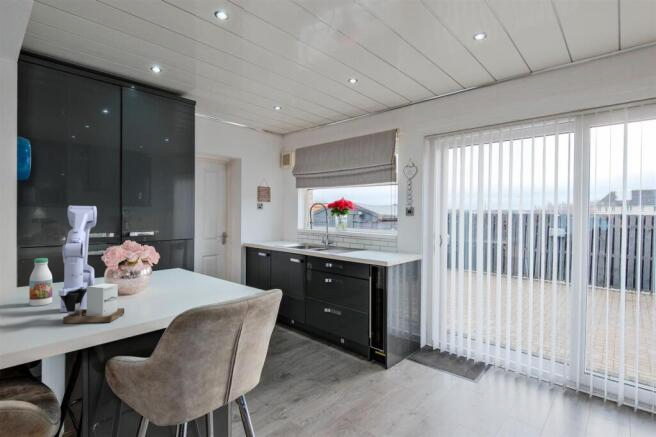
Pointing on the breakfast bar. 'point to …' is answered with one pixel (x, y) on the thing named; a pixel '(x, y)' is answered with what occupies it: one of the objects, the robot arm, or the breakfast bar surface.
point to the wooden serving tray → (77, 318)
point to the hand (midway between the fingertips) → (73, 310)
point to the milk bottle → (40, 284)
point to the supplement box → (102, 299)
